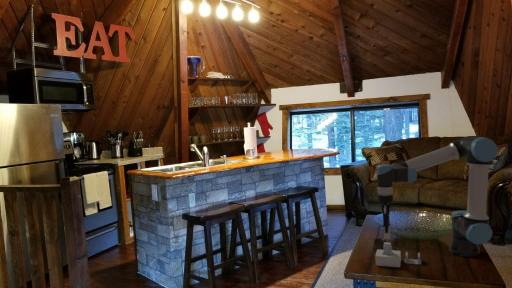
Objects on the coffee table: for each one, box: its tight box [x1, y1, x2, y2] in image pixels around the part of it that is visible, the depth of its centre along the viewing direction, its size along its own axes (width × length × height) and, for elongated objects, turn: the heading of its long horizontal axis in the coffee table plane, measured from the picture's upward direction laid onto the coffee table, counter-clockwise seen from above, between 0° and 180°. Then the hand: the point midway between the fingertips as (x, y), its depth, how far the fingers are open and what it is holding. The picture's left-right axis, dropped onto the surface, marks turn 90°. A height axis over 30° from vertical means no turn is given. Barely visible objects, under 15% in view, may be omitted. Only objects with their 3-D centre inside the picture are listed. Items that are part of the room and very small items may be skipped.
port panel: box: [374, 249, 402, 268], centre depth 210 cm, size 12×10×6 cm
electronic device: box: [373, 237, 388, 252], centre depth 229 cm, size 4×10×8 cm, turn 43°
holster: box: [404, 251, 422, 265], centre depth 209 cm, size 8×6×5 cm
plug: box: [383, 242, 393, 255], centre depth 210 cm, size 4×3×9 cm
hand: (387, 238), depth 209 cm, fingers closed
